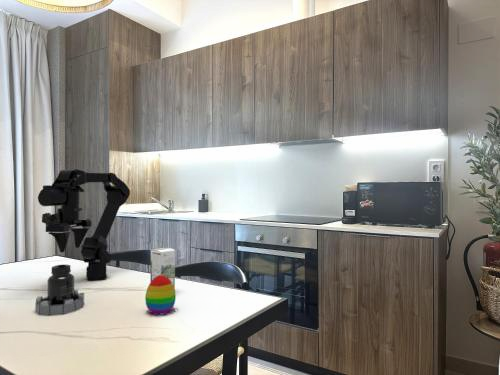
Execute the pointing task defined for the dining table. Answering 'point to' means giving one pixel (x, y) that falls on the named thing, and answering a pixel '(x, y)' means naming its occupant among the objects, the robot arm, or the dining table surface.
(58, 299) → the supplement bottle
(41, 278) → the dining table surface
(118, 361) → the dining table surface
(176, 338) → the dining table surface
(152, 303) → the decorative egg
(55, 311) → the grey segmented ring
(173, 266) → the syrup box
